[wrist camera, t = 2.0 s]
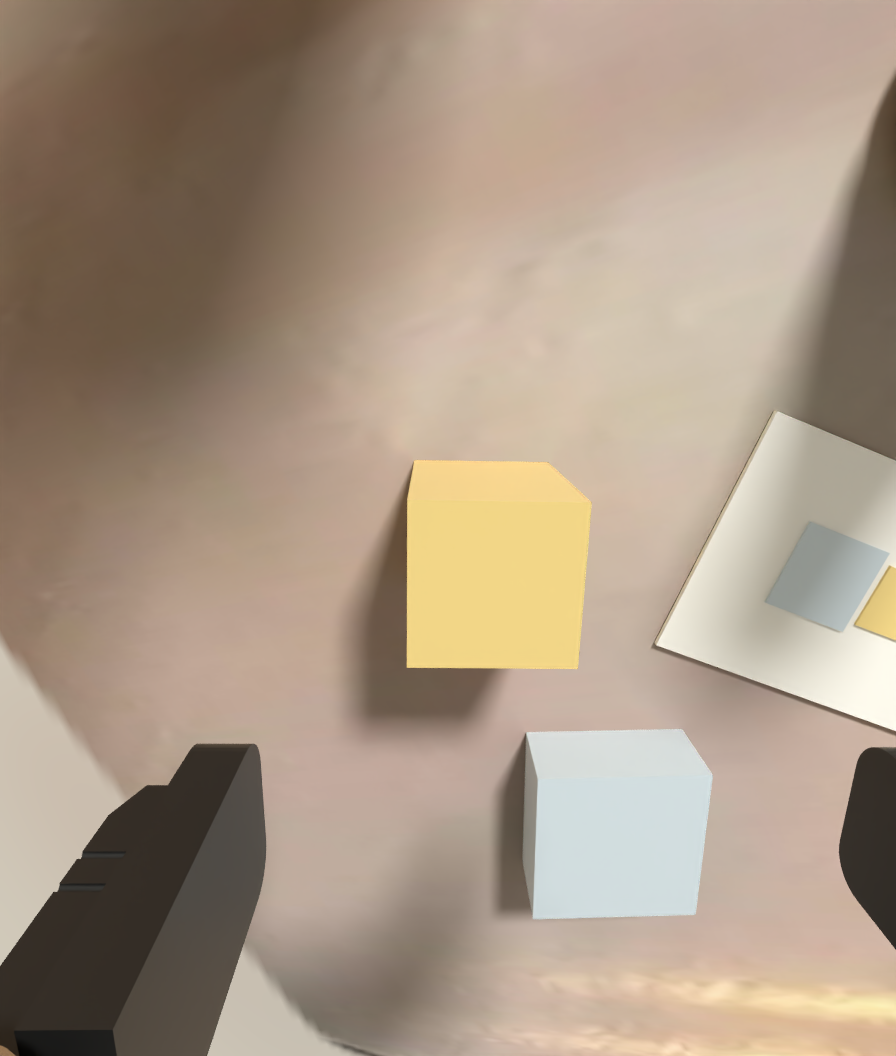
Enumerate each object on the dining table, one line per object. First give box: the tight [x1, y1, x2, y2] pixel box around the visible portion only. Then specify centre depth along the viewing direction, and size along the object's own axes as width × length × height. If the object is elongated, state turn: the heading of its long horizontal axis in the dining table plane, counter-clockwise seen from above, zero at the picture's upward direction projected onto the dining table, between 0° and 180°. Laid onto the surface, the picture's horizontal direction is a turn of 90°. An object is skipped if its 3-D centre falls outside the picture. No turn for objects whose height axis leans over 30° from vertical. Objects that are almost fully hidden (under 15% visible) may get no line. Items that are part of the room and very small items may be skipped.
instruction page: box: [654, 411, 896, 731], centre depth 22 cm, size 12×9×1 cm
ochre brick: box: [407, 460, 592, 669], centre depth 19 cm, size 4×4×6 cm
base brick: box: [522, 729, 713, 919], centre depth 23 cm, size 6×6×3 cm
